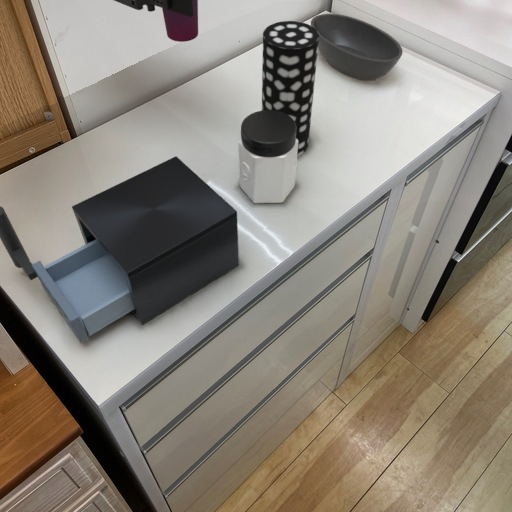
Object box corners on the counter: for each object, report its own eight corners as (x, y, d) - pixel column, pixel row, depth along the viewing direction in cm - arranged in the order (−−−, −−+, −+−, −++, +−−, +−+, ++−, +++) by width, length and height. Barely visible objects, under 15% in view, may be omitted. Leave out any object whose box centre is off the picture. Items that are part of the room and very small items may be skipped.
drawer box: (142, 325, 70) (127, 273, 61) (91, 260, 77) (71, 206, 68) (238, 265, 76) (237, 211, 68) (183, 211, 83) (176, 155, 75)
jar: (231, 179, 88) (229, 118, 79) (273, 163, 91) (275, 102, 81) (260, 213, 83) (260, 152, 74) (303, 194, 86) (309, 133, 76)
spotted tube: (286, 123, 98) (292, 15, 82) (318, 145, 94) (330, 36, 78) (251, 141, 94) (251, 32, 79) (283, 165, 90) (289, 55, 75)
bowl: (369, 99, 103) (375, 70, 98) (293, 52, 114) (295, 24, 109) (410, 77, 108) (418, 48, 103) (334, 35, 119) (337, 7, 114)
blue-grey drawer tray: (70, 349, 66) (45, 300, 58) (13, 263, 74) (-16, 210, 66) (178, 284, 72) (169, 232, 64) (114, 212, 81) (98, 158, 73)
